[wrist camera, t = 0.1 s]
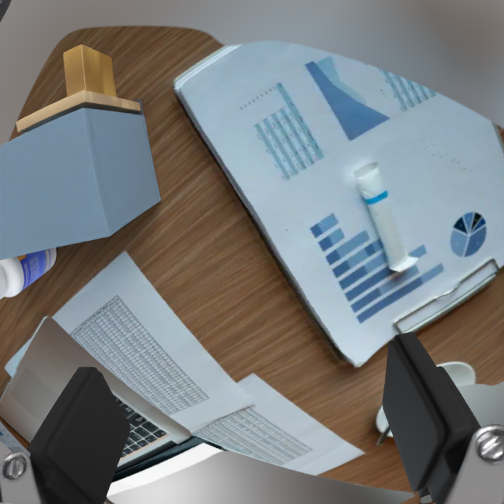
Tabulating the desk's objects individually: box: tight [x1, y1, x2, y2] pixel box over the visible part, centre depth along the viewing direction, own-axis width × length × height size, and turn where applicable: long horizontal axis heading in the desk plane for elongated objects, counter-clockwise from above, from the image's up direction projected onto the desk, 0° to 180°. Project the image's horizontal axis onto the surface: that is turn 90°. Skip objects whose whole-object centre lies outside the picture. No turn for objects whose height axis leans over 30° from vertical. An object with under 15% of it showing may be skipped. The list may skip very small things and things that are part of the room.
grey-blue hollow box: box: [0, 99, 161, 260], centre depth 22 cm, size 10×12×11 cm
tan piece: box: [16, 45, 140, 132], centre depth 20 cm, size 5×6×10 cm
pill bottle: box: [0, 248, 56, 299], centre depth 26 cm, size 5×5×10 cm
